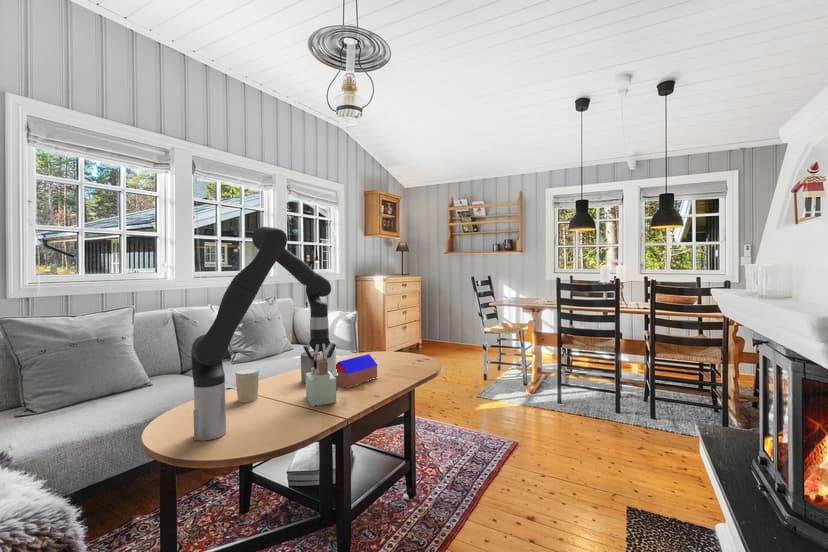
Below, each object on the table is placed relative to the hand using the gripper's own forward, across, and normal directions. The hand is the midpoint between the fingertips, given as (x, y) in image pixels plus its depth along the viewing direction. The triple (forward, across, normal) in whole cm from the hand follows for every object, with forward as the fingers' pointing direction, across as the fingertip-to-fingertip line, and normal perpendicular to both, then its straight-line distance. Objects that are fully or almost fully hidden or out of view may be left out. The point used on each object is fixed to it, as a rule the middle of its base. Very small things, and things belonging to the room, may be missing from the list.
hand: (320, 368), depth 165 cm
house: (+14, +20, +20) cm, 31 cm away
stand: (+13, 0, 0) cm, 13 cm away
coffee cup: (+13, -28, +14) cm, 34 cm away
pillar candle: (+13, +1, +30) cm, 33 cm away
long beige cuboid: (+1, 0, 0) cm, 1 cm away
